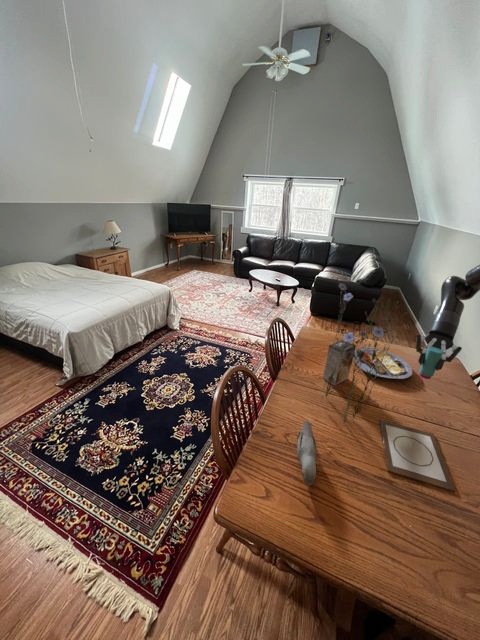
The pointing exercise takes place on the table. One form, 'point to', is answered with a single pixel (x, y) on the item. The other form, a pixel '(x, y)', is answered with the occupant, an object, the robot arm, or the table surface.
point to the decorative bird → (307, 453)
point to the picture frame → (414, 455)
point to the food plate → (383, 363)
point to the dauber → (430, 362)
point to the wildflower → (349, 339)
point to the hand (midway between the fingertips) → (428, 366)
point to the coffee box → (343, 365)
